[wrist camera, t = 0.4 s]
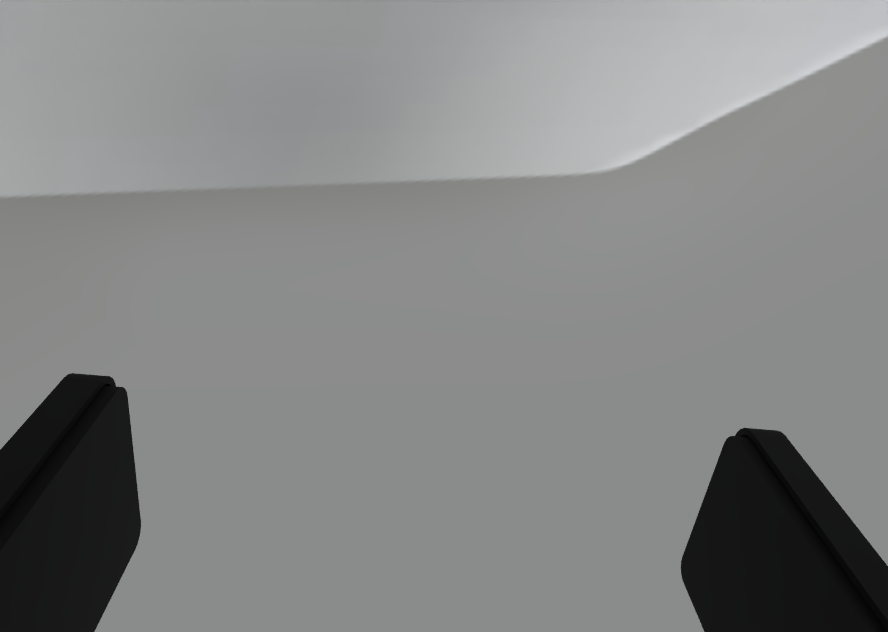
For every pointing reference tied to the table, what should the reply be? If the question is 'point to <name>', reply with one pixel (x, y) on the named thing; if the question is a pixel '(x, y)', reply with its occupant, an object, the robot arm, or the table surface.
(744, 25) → the table surface
